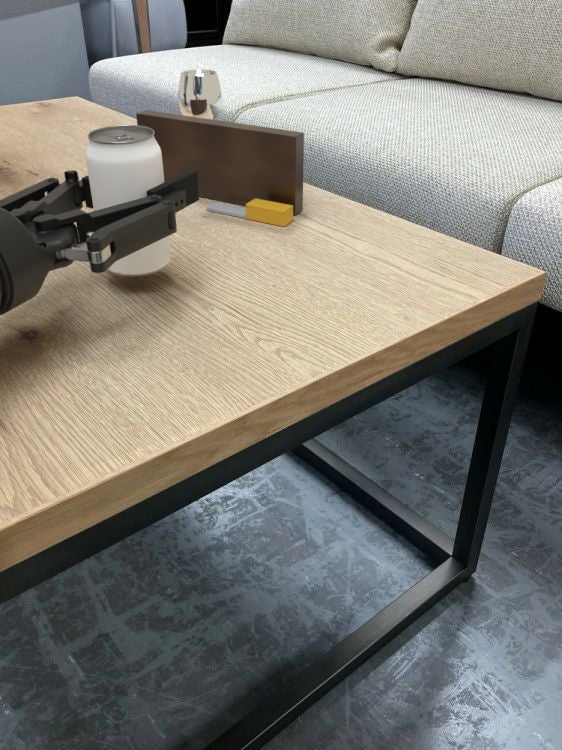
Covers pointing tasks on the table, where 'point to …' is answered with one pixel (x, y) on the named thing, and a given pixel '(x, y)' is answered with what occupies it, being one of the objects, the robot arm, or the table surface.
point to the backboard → (231, 158)
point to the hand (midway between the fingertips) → (162, 179)
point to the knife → (258, 211)
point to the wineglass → (200, 94)
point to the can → (127, 184)
